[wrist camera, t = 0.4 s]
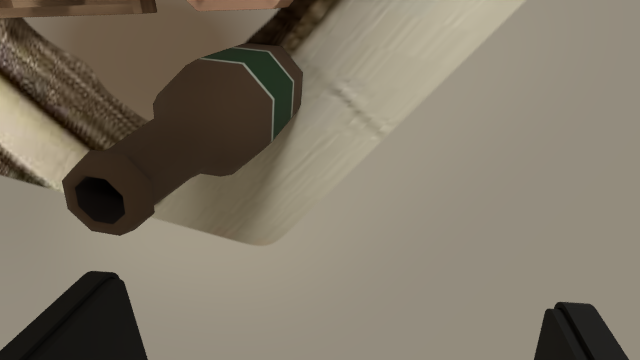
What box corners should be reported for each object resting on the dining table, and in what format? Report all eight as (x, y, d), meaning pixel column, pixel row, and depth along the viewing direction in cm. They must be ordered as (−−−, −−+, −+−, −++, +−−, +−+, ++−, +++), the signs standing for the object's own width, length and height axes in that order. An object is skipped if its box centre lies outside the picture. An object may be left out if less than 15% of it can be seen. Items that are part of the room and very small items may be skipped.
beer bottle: (321, 66, 36) (218, 172, 15) (285, 138, 40) (158, 309, 18) (244, 22, 36) (18, 66, 14) (214, 99, 39) (-4, 228, 17)
